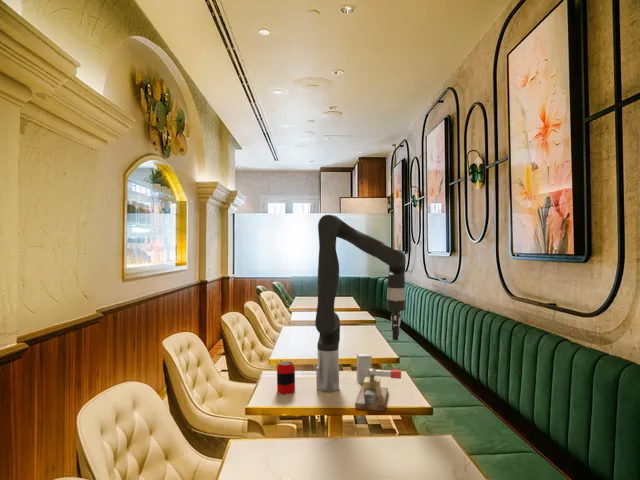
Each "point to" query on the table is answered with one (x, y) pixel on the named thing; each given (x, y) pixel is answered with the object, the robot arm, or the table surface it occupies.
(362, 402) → the valve stand
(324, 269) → the robot arm
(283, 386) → the soda can
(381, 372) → the valve lever
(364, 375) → the skincare box
